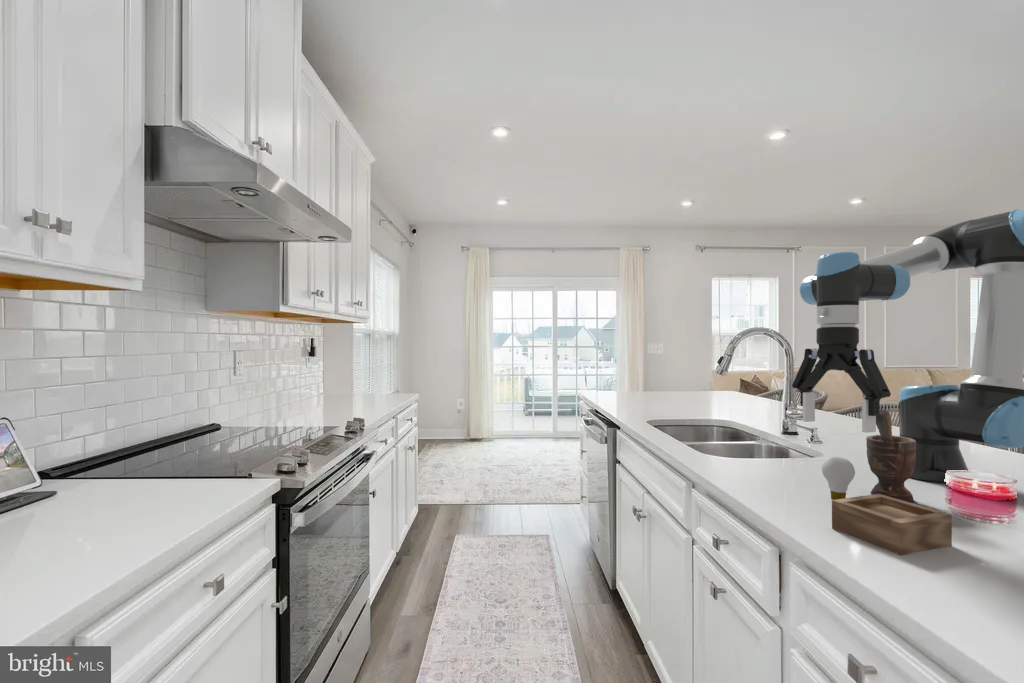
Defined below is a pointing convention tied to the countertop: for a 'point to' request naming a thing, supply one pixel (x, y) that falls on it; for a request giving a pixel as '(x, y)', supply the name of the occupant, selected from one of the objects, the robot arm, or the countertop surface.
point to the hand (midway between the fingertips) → (836, 426)
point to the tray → (892, 523)
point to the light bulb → (838, 475)
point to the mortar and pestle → (890, 459)
